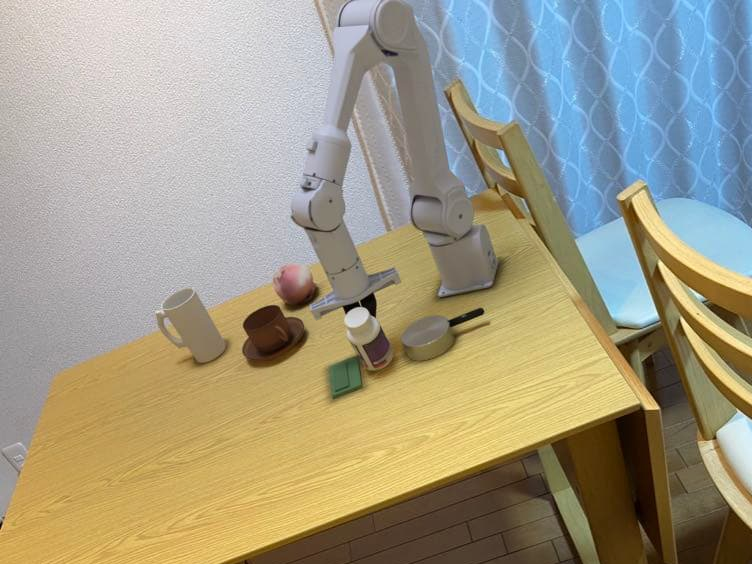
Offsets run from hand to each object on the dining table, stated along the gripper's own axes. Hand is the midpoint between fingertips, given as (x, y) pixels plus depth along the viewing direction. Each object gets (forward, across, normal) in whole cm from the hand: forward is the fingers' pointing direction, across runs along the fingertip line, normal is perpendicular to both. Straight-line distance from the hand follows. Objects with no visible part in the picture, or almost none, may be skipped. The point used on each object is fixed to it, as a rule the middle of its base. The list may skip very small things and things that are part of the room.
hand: (375, 337), depth 138 cm
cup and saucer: (+3, +17, -16) cm, 24 cm away
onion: (+3, +11, -30) cm, 32 cm away
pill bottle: (+2, +1, +3) cm, 4 cm away
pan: (+2, -10, +5) cm, 12 cm away
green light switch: (+2, +7, +4) cm, 8 cm away
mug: (+3, +32, -25) cm, 41 cm away
